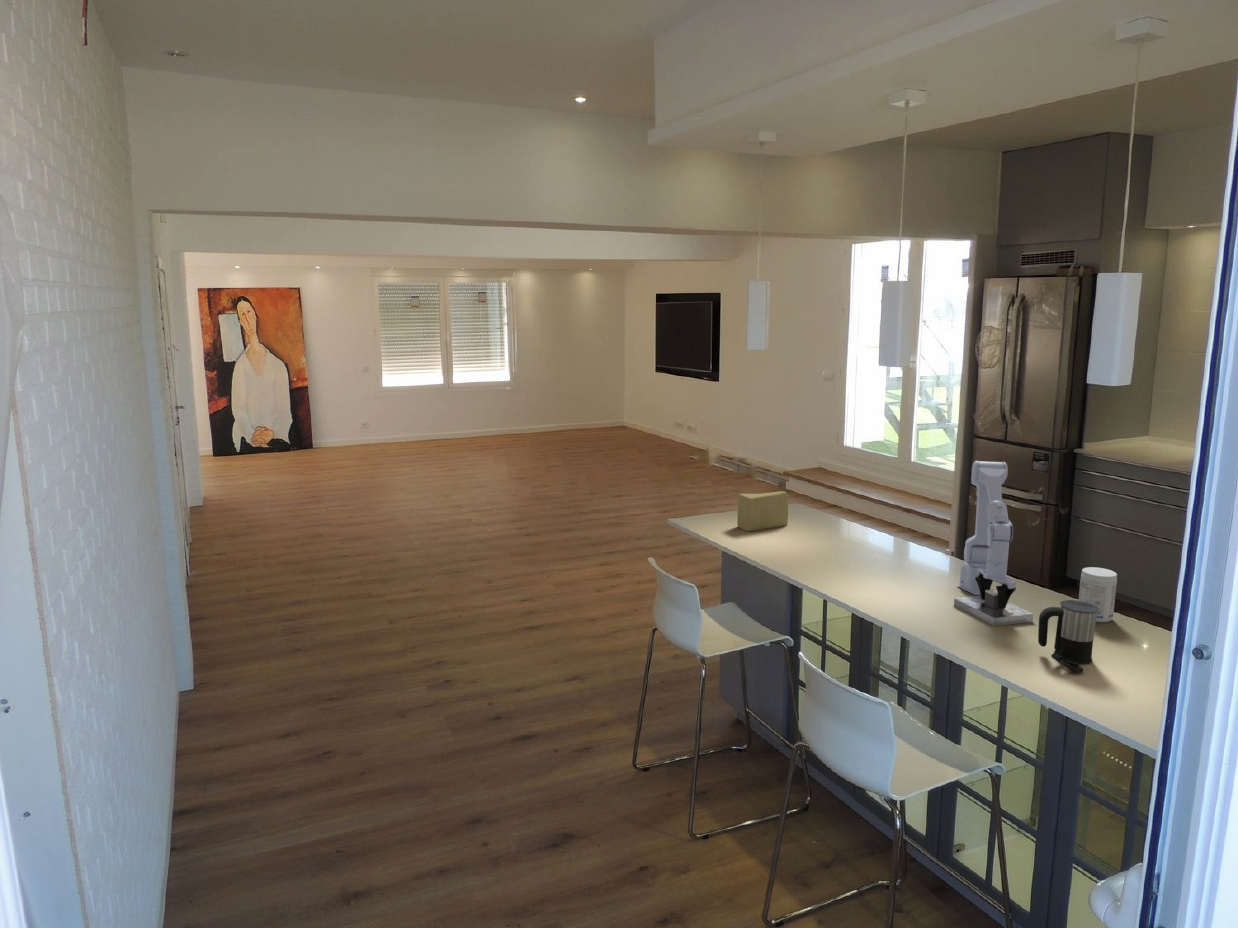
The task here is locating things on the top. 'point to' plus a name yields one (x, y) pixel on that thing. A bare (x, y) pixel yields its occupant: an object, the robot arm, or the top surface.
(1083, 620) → the milk frother
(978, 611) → the socket plate
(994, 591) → the plug
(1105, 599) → the supplement tub
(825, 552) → the top surface
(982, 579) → the robot arm
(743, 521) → the cheese
